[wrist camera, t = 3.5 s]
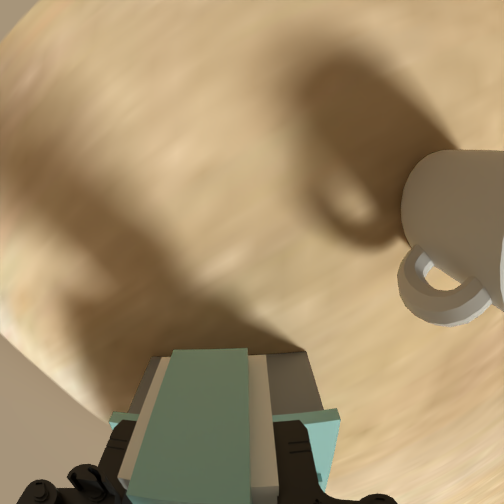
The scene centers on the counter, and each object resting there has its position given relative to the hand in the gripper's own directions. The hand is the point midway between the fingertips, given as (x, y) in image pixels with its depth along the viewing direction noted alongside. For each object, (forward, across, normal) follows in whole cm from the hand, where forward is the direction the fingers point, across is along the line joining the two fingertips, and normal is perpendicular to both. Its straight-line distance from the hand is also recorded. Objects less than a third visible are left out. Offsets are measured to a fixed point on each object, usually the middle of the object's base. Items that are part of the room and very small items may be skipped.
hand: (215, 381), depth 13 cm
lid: (0, 0, -7) cm, 8 cm away
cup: (+6, +13, +6) cm, 15 cm away
